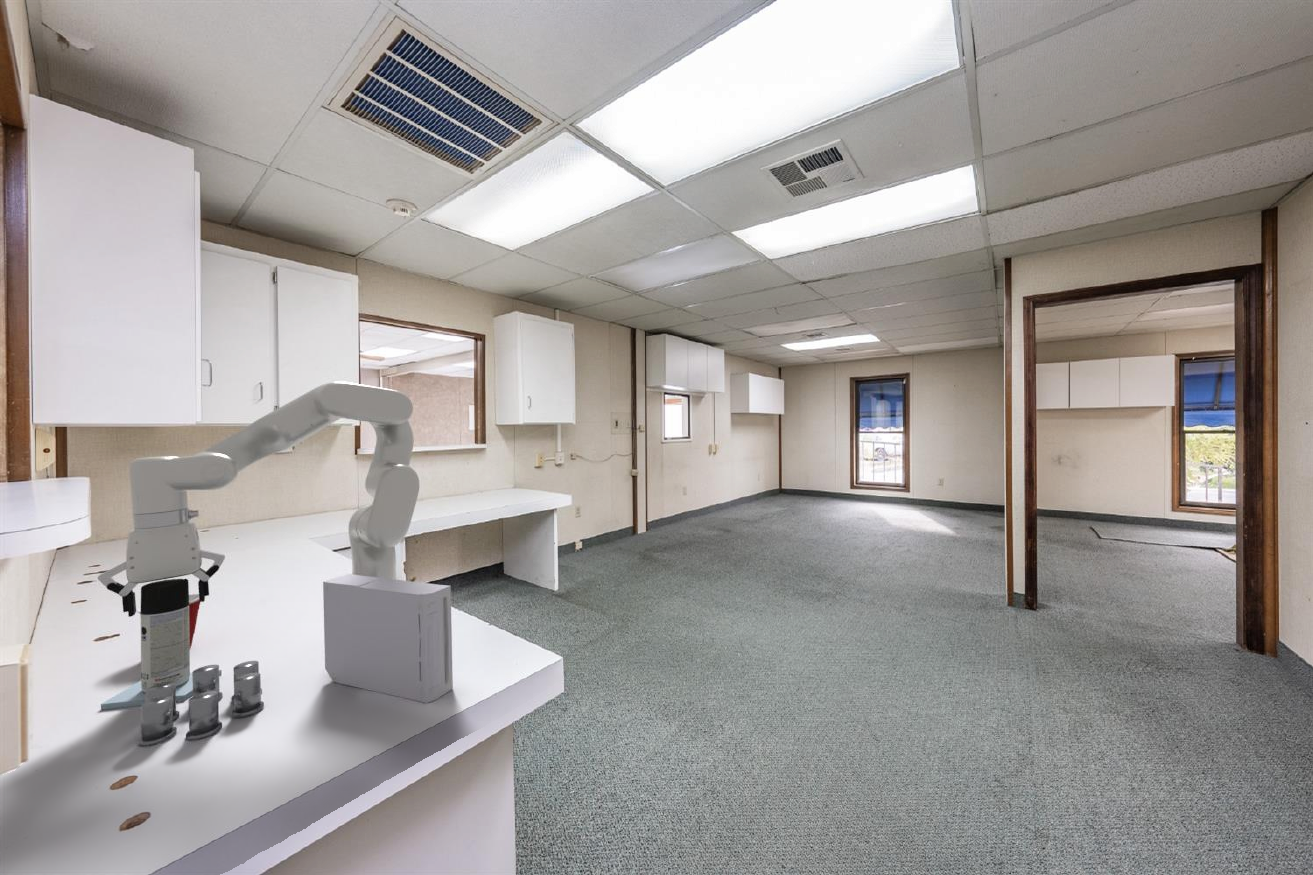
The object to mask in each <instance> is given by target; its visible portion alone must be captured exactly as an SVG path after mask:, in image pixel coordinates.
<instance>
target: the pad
mask: <svg viewBox="0 0 1313 875" xmlns="http://www.w3.org/2000/svg"><path fill="white" fill-rule="evenodd" d="M221 675H222V669H219V677H220V676H221ZM192 697H193V676H192V672H190V677H189V680H188V681H187V682H185V683H184V684H183V685H181V686H179V687H176V702H182V701H187V700H189V699H190V698H192ZM145 702H146V694H145V693H143V692H142V688H141V680H139V681H138V682H136V683H135V684H132V685H131V686H130V687H128V688H126V689H124V690H123V691H120V692H119V693H117V694H115V695H114V696H112V697H111V698H109V699H107V700H105V701H104V702H103V703H101V704H100V711H103V710H111V709H112V710H113V709H120V708H129V707H130V708H131V707H138V706H141V705H142V704H143V703H145ZM102 709H103V710H102Z"/></svg>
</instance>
